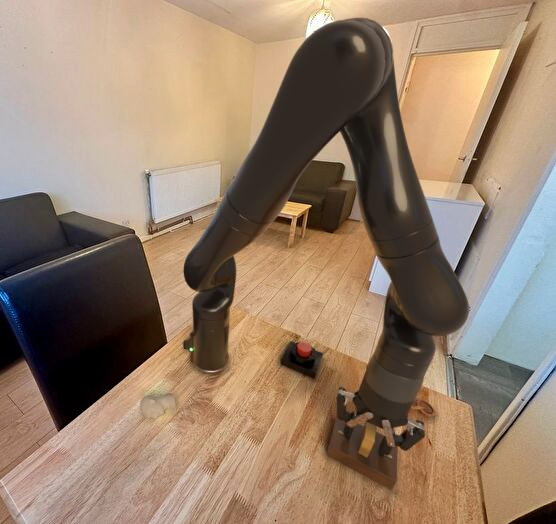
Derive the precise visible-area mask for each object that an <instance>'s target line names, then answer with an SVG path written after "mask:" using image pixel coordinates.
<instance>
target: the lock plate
mask: <svg viewBox="0 0 556 524" xmlns="http://www.w3.org/2000/svg"><path fill="white" fill-rule="evenodd" d="M345 423H346V422H345V421H344V420H339V419H338V418H337V416H336V417H335V420H334V424H333V426H332V427H333V428H332V432H331V436H330V441H329V444H328V449H327V453H326V456H327V457H329V458H331V459H333V460H335V461H336V462H338V463H340V464H342V465H344V466H346V467H347V468H350V469H351V470H353V471H355V472H356V473H359V474H360V475H362V476H364V477H366V478H368V479H370V480H372V481H373V482H375V483H377V484H379V485H381V486H382V487H385V488H386V489H388V490H390V491H393V488H394V487H395V485H396V483H397V482H398V481H397V480H398V448H399V447H398V446H395V447H393V448H392V450H391V452H390V454H389V455H385V454H384V456H383V457H382V456H380V455H379V447H380V444H381V441H382V439H383V437H384V435H385V434H383V433H380V432H377V431H376V434H375V442H374V444H373V446H372V449H371V451H370V453H369V455H368V457H365V456H363V455H361V454H359V453H358V449H359V443H360V436H361V431H362V428H363V426H364V424H363V425H362V424H360V425H359V424H357V425H356V426H354V430H353V432H352V435H351V438H350V440H349V439H347V438H346V435H344V433H343V431H344V426H345Z"/></svg>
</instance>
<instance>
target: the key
mask: <svg viewBox="0 0 556 524" xmlns="http://www.w3.org/2000/svg"><path fill="white" fill-rule="evenodd" d="M420 403H423V404H425V405H427V406H428V408H430V410H431V413H428V412H426V411H425V410H424V409H425V407H424V406H421V405H420ZM411 410H412V411H413V410H415V411H416V410H419V411H420V412H421V413H422V414H423V415H425V416H427V417H431V418H432V417H434V416H435V414H436V413H435V412H436V411H435V409H434V408H433V406H432V405H431V404H430V403H429V402H428V401H426V400H423V399H419V400H417V401H416V405H415V404H413V405H412V407H411V409H410V411H411Z"/></svg>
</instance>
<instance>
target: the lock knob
mask: <svg viewBox="0 0 556 524" xmlns="http://www.w3.org/2000/svg"><path fill="white" fill-rule="evenodd" d="M376 432H377V426H376V425H374V424H371V423H368V422H366V421H365V422H363V428H362V431H361V436H360V443H359V449H358V453H359V454H361V455H363V456H365V457H368V455H369V453H370V451H371V449H372V446H373V444H374V442H375V434H376Z"/></svg>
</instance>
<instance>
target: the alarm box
mask: <svg viewBox="0 0 556 524" xmlns="http://www.w3.org/2000/svg"><path fill="white" fill-rule="evenodd" d="M300 342H301V341H298V342H297V341H296V342H294V341H292V340H290V341H289V343H288V344H287V346H286V348H285V351H284V353H283V355H282V356H281V359H280V365H281V366H284V367H286V368H287V369H290V370H293V371H295V372H297V373H299V374H302V375H304V376H307V377H309V378H311V379H314V380H315V379H316V376H317V374H318V372H319V368H320V366H321V362H322V360H323V357H324V352H321V351H318V350H316V349H315V347H313V346H312V345H311V344H309V345H310V346H311V348H312V349H311V354H310V355H309V356H308V357H303V356H301V355H299V354H298V353H297V351H296V350H297V345H298V343H300Z"/></svg>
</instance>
